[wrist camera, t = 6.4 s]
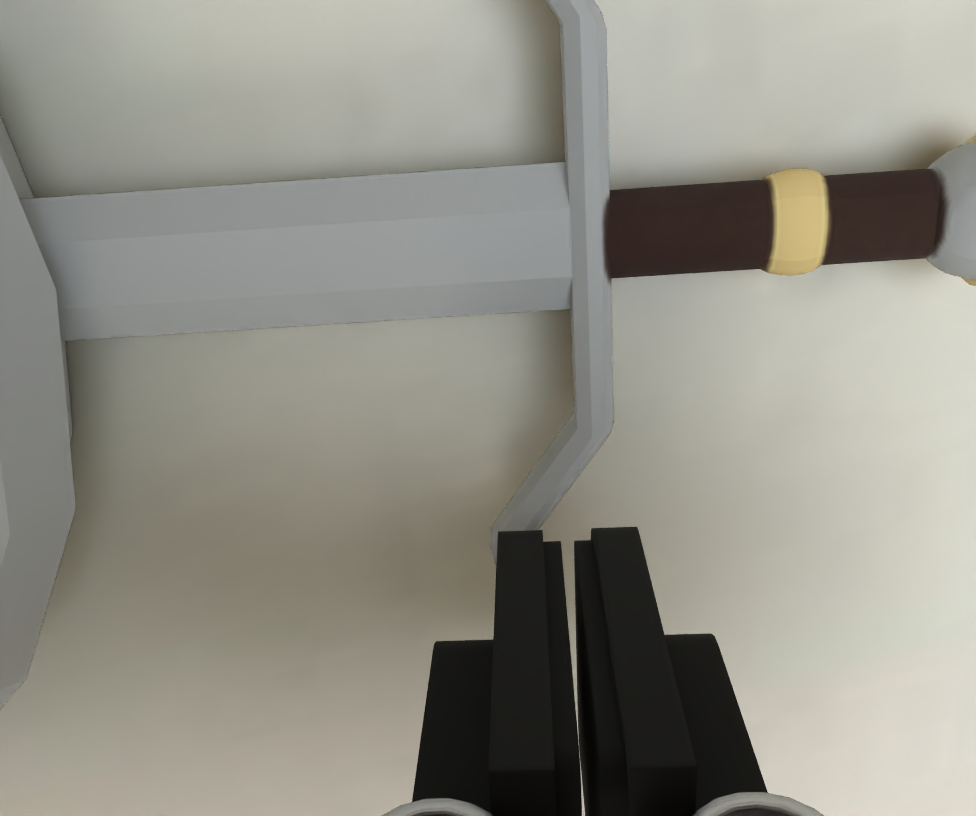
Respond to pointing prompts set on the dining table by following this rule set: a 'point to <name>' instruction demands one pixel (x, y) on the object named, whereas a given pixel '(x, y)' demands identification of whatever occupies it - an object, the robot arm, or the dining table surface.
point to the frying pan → (403, 279)
